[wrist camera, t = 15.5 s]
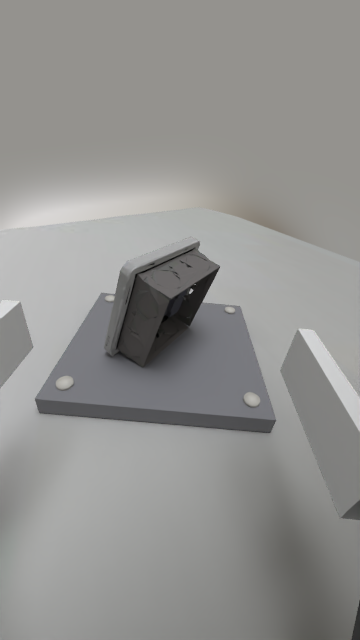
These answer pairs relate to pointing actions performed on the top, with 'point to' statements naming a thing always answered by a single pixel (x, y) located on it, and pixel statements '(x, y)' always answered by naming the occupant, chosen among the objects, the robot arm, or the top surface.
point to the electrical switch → (158, 299)
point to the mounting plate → (164, 376)
